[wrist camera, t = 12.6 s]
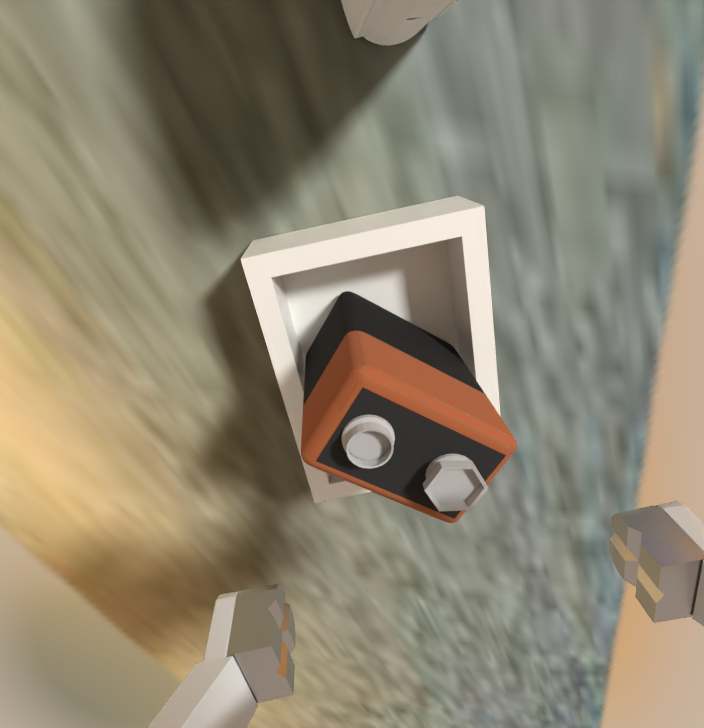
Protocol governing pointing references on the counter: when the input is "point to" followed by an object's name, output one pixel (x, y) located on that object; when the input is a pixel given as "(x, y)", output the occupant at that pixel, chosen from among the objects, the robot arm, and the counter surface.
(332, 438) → the battery
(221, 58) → the counter surface
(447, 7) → the photo printer
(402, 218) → the trough
